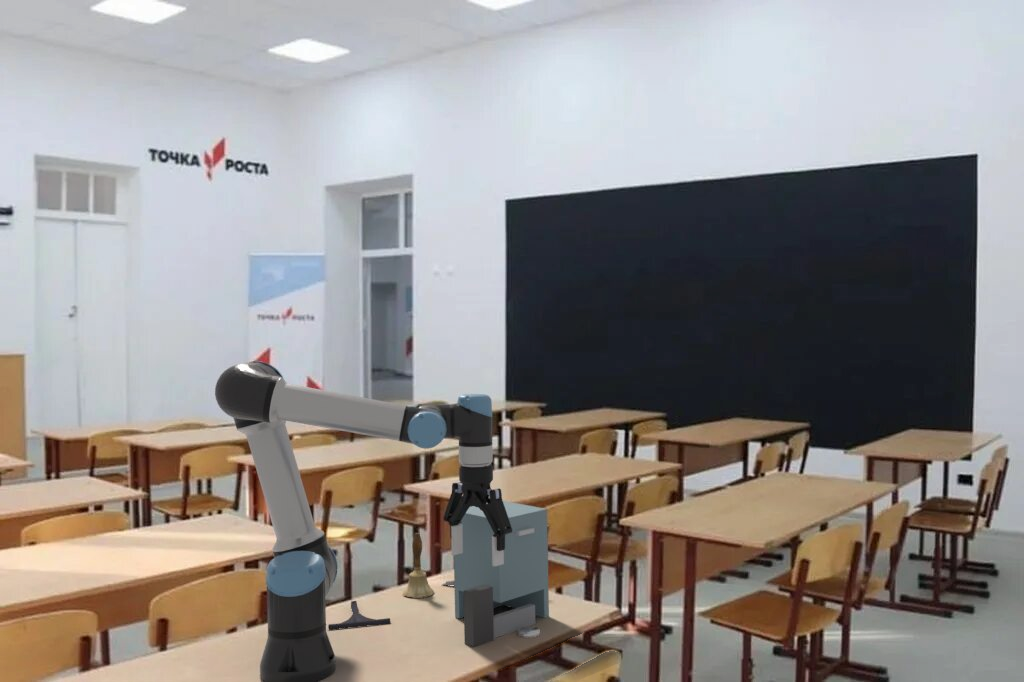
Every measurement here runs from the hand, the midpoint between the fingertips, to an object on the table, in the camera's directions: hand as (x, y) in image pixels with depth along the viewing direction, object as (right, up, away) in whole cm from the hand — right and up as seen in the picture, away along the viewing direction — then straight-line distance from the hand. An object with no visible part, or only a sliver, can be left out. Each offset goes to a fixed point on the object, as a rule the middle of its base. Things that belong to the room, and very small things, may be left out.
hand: (477, 559), depth 200 cm
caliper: (-2, -18, +41) cm, 45 cm away
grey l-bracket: (+5, -18, +5) cm, 20 cm away
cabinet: (+5, -18, +17) cm, 25 cm away
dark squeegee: (-30, -20, +19) cm, 41 cm away
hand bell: (-17, -18, +37) cm, 45 cm away
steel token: (+12, -19, +5) cm, 22 cm away
